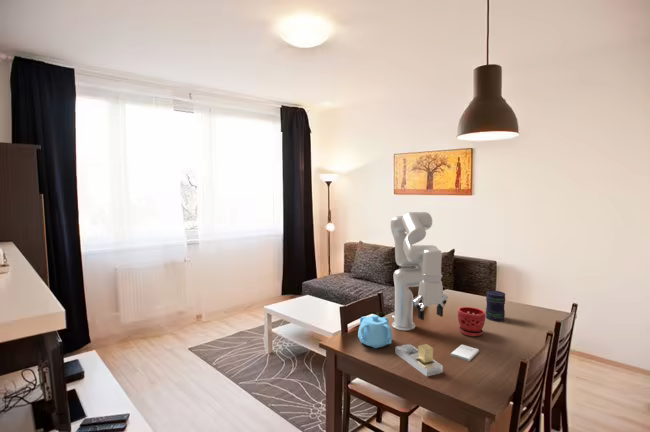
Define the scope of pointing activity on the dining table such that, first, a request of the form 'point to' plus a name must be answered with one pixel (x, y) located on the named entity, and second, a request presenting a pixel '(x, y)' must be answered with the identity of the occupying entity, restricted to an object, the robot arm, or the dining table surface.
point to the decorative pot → (375, 331)
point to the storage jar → (495, 306)
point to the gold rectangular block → (425, 354)
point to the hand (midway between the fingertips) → (430, 317)
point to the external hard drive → (465, 352)
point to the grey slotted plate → (413, 360)
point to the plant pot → (471, 321)
